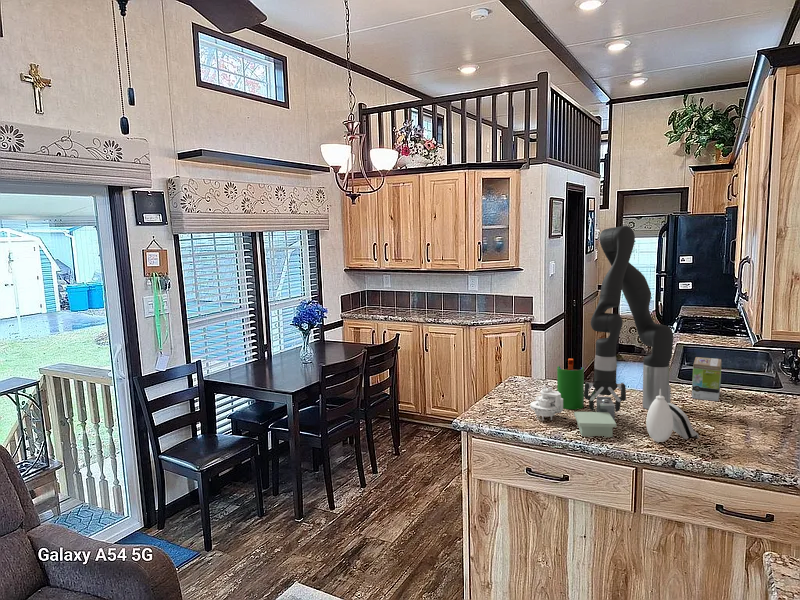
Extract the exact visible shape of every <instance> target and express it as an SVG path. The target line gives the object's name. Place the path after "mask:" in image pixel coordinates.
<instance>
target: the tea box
mask: <svg viewBox="0 0 800 600" xmlns="http://www.w3.org/2000/svg"><path fill="white" fill-rule="evenodd" d="M692 365H693V366H692V382H691V383H692V384H691V398H692V399H697V400H705V401H713V402H718V401H719V400H720V396H721V395H720V394H721V383H722V359H721V358H712V357H711V358H710V357H699V356H695V358H694V361H693V364H692Z"/></svg>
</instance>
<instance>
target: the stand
mask: <svg viewBox="0 0 800 600" xmlns="http://www.w3.org/2000/svg"><path fill="white" fill-rule="evenodd" d="M573 416H574V418H575V420H576V423H577V424H576V425H577V426H578V427H577V428H579V429H578V431H579V432H580V435H581V437H593V436H602V437H603V436H604V437H603V438H613V437H614V436H613V435H614V434H613V433H614V432H613V428H617V423H616V421H614V419H613V418H612V416H611V415H610V413H609V412H597V411H573ZM602 437H601V438H602Z"/></svg>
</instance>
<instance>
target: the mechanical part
mask: <svg viewBox="0 0 800 600" xmlns="http://www.w3.org/2000/svg"><path fill="white" fill-rule="evenodd" d="M541 388H542V389H541V390H540V391H539V395H536V396H535V400H534V401H531V402H530V404H529V408H530V409H531V410H532V411H534V414H535V415H536V419H539V416H540V417H541V418H542V419H541V420H542V421H545V418H544V417H549V418H550V421H553V416H555V415H556V414H561V413H562V412H563V411H564V408H563V398H561V393H559V392H558V391H557V390H553V387H552V386H549V387H547V385H543V386H542V387H541Z"/></svg>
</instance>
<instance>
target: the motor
mask: <svg viewBox="0 0 800 600" xmlns="http://www.w3.org/2000/svg"><path fill="white" fill-rule="evenodd" d="M567 361H568V362H567V363H568V364H567V366H568V367H567V368H565V369H564V368H561V366H560V365H559V366H557V368H556V369H557V371H556V373H557V378H556V379H557V380H556V381H557V382H556V383H557V386H556V387H557V388H556V391H558V392H559V393H561V398H563V410H581V409H583V408H584V407H585V397H584V387H585V378H584V377H585V373H584V372H585V370H584V369H585V368H584V367H580V369H574V358H568V359H567Z"/></svg>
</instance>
